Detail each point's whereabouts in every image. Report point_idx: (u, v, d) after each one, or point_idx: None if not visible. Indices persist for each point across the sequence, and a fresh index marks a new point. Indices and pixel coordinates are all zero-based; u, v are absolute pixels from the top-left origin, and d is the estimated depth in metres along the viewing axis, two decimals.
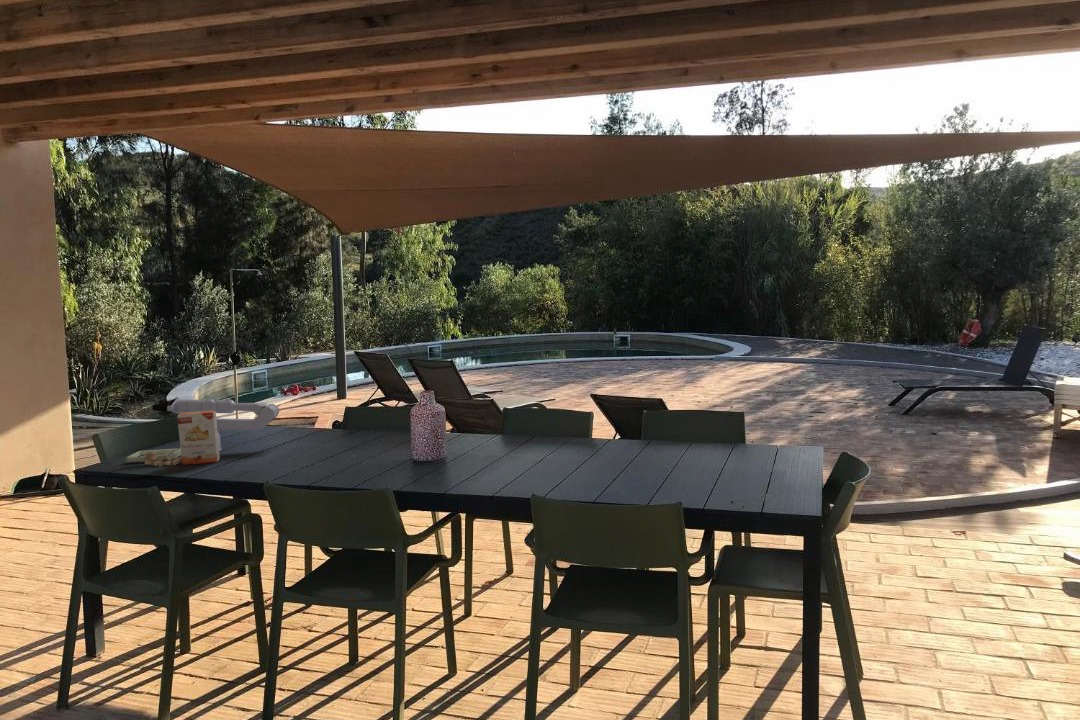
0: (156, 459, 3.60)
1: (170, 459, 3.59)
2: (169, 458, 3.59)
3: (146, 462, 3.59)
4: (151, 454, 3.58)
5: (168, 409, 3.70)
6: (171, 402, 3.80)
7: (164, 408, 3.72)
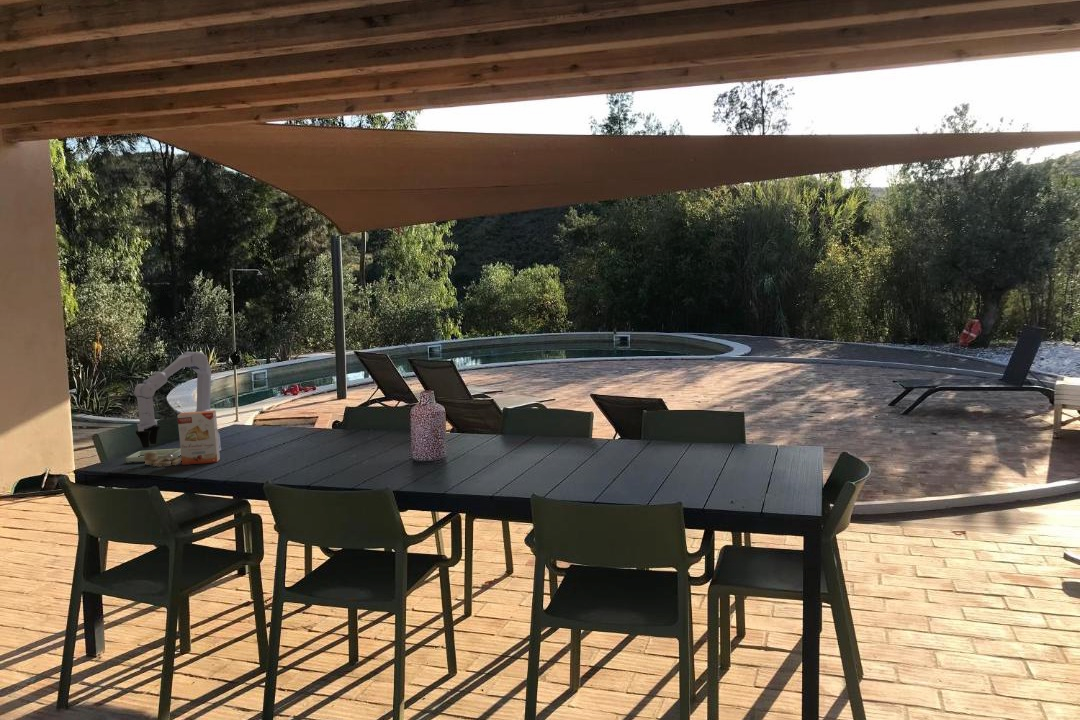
0: (156, 459, 3.60)
1: (170, 459, 3.59)
2: (169, 458, 3.59)
3: (146, 462, 3.59)
4: (151, 454, 3.58)
5: (141, 430, 3.51)
6: None
7: (145, 435, 3.54)
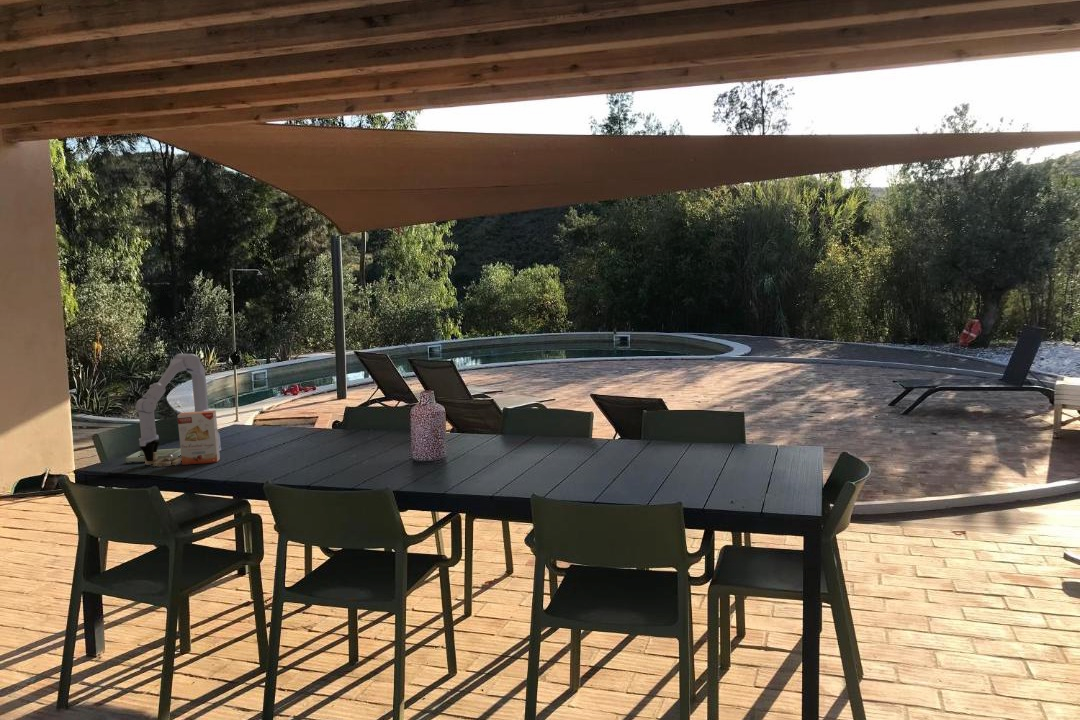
0: (156, 459, 3.60)
1: (170, 459, 3.59)
2: (169, 458, 3.59)
3: (146, 462, 3.59)
4: None
5: (143, 444, 3.52)
6: None
7: (149, 448, 3.57)
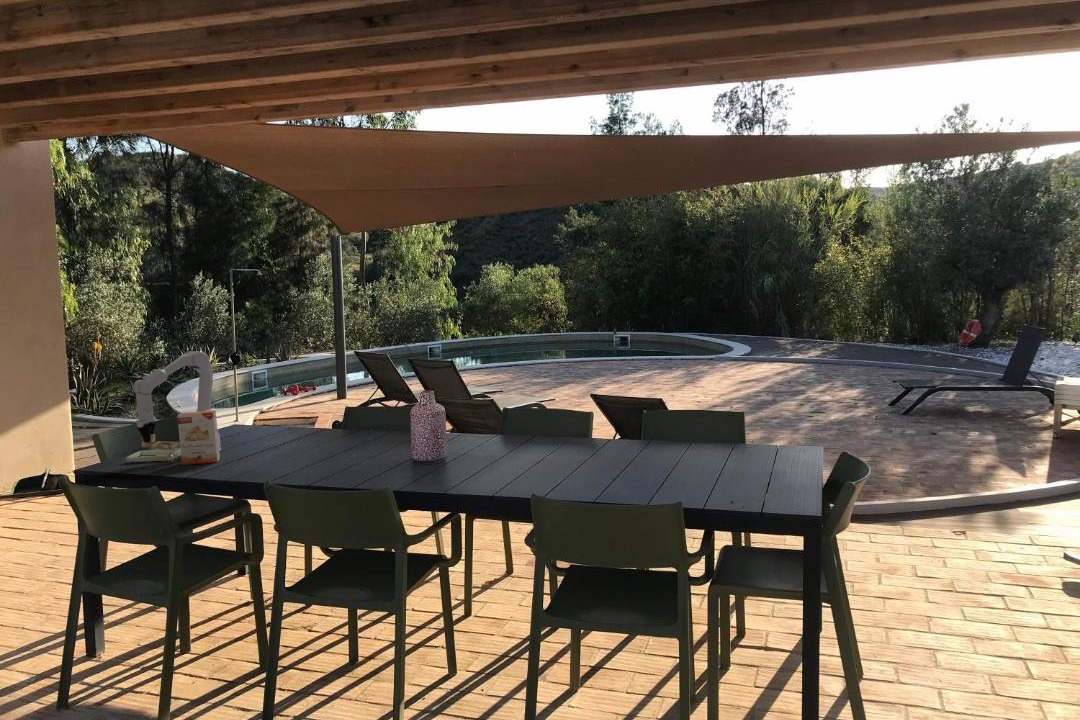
0: (153, 442, 3.60)
1: (170, 459, 3.59)
2: (169, 458, 3.59)
3: (143, 444, 3.60)
4: None
5: (140, 426, 3.53)
6: None
7: (146, 430, 3.58)
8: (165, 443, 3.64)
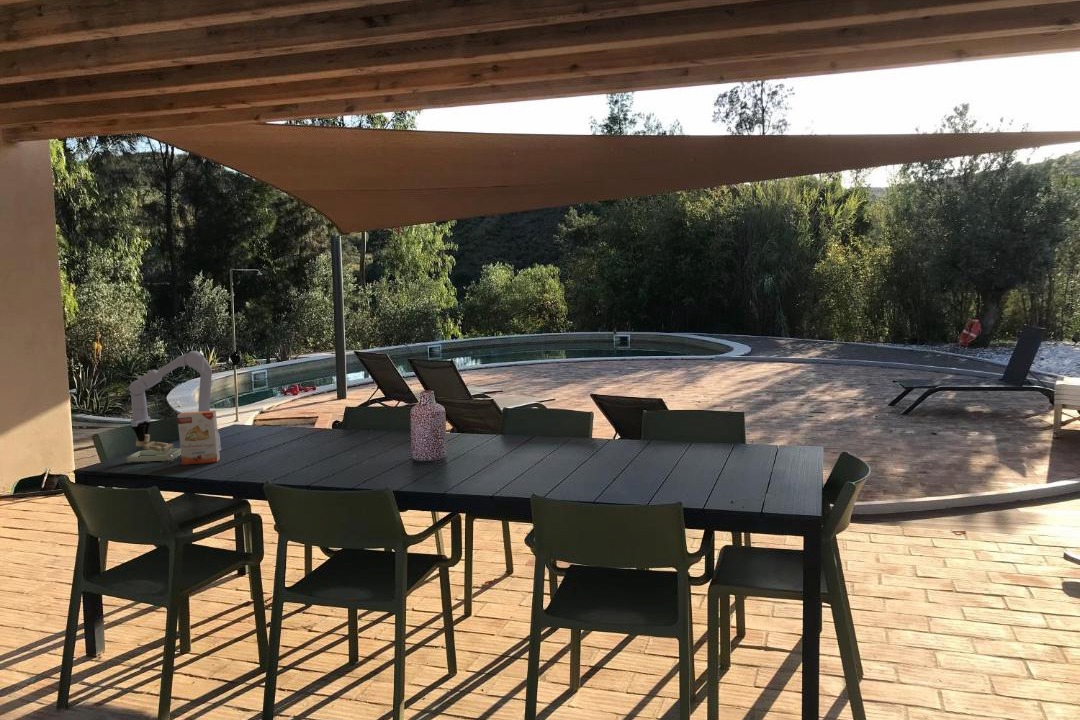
0: (147, 442, 3.71)
1: (170, 459, 3.59)
2: (169, 458, 3.59)
3: (137, 443, 3.70)
4: None
5: (134, 425, 3.63)
6: None
7: (140, 429, 3.69)
8: (159, 444, 3.75)
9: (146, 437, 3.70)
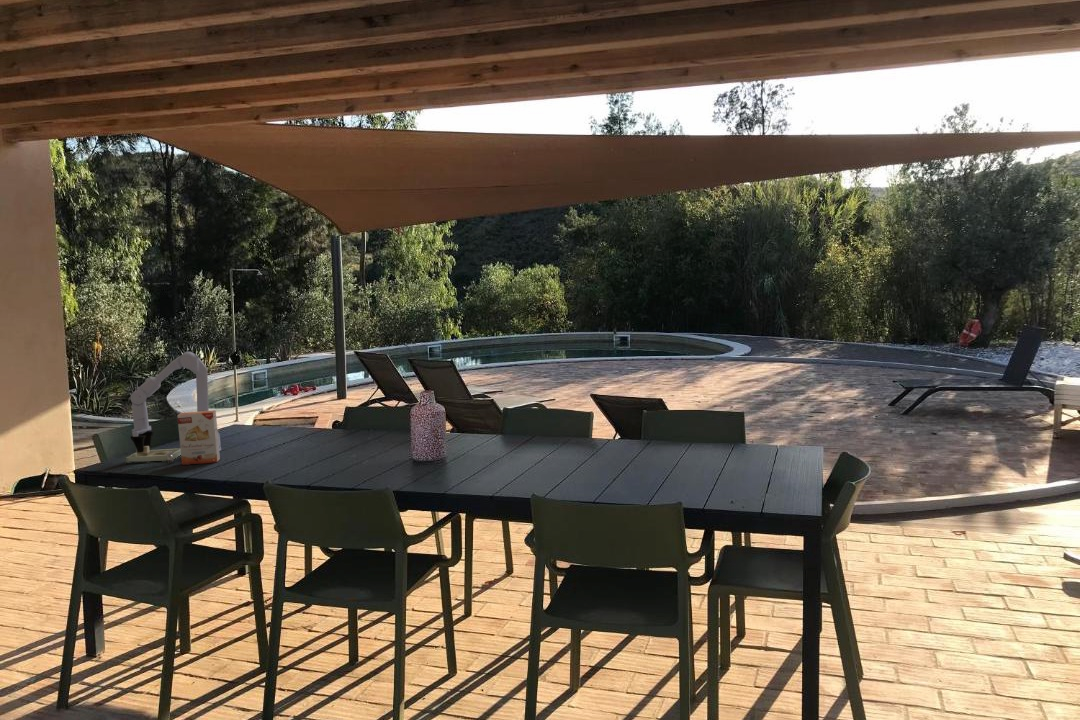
0: (148, 453, 3.72)
1: (170, 459, 3.59)
2: (169, 458, 3.59)
3: (138, 456, 3.71)
4: None
5: (135, 435, 3.64)
6: None
7: (139, 440, 3.67)
8: (160, 453, 3.75)
9: (145, 448, 3.71)
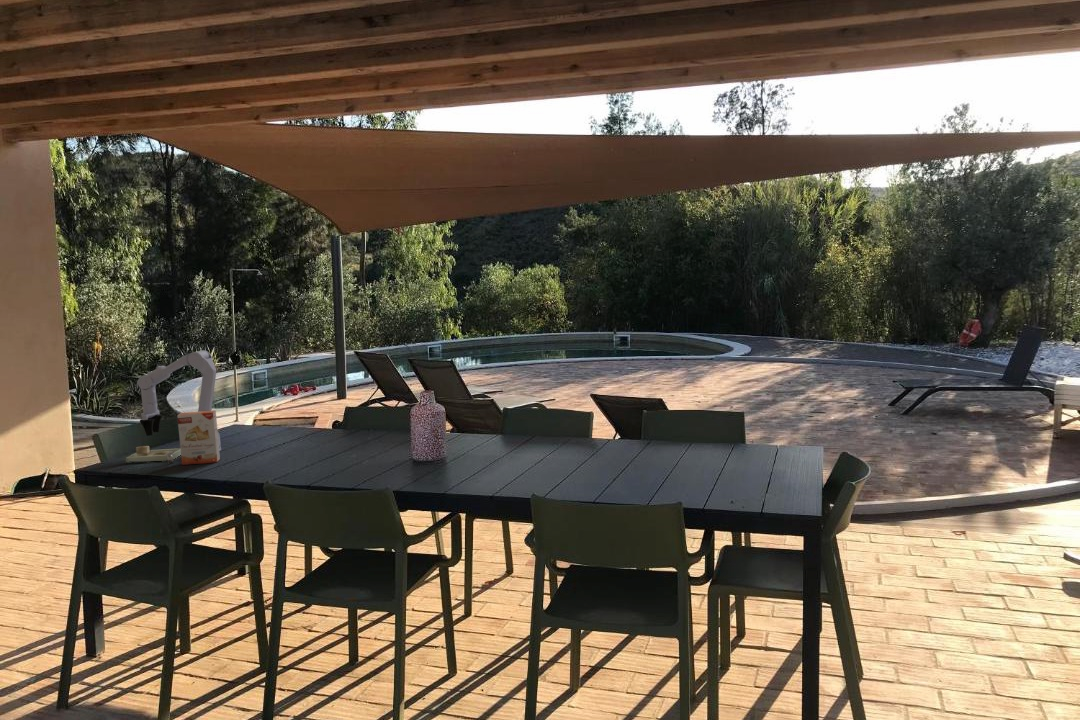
0: (148, 453, 3.72)
1: (170, 459, 3.59)
2: (169, 458, 3.59)
3: (138, 456, 3.71)
4: (143, 448, 3.71)
5: (145, 418, 3.72)
6: None
7: (148, 423, 3.75)
8: (160, 453, 3.75)
9: (145, 448, 3.71)
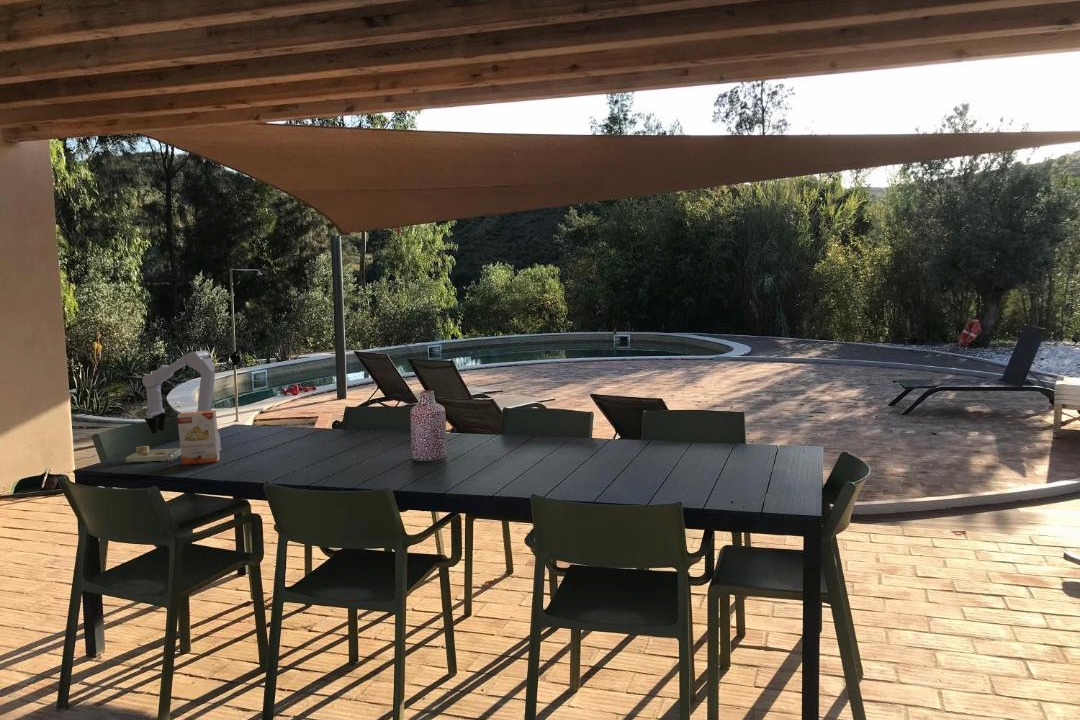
0: (148, 453, 3.72)
1: (170, 459, 3.59)
2: (169, 458, 3.59)
3: (138, 456, 3.71)
4: (143, 448, 3.71)
5: (150, 417, 3.76)
6: None
7: (153, 422, 3.79)
8: (160, 453, 3.75)
9: (145, 448, 3.71)
